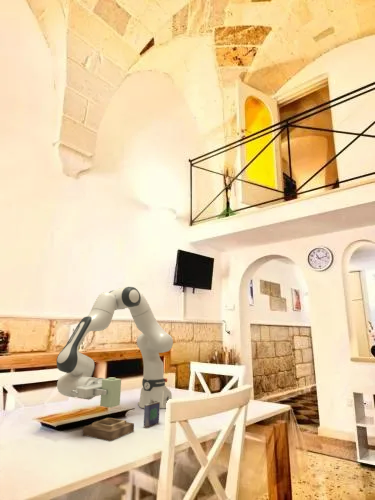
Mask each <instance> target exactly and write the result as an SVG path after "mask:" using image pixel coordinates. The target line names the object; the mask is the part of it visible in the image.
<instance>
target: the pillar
mask: <svg viewBox="0 0 375 500" xmlns="http://www.w3.org/2000/svg"><path fill="white" fill-rule="evenodd" d="M101 389H103V390H104V389H106V390H108V394H107V395H100V402H99V403H100V405H99V407H104V408H110V409H112V408H114V407H118V406H121V405H120V404H121V392H122V391H121V389H122V379H121V378H116V377H107V378H105V379H102V388H101Z"/></svg>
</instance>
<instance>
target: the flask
mask: <svg viewBox="0 0 375 500" xmlns="http://www.w3.org/2000/svg"><path fill="white" fill-rule="evenodd" d="M149 400H150V403H148V404H145V405H144V408H143V409H144V412H143V428H145V429H148V428H151V427H154V426H156V425H159V424H160V408H159V407H160V402H158V401H153V400H154V399H152V398H151V399H149Z"/></svg>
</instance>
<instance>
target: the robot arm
mask: <svg viewBox="0 0 375 500" xmlns="http://www.w3.org/2000/svg"><path fill="white" fill-rule="evenodd" d="M125 309H128V310H129V312H130V314H131V317H132V320H133V321H134V325H135V327H136V328H137V329H138V330H139V331H140V332H141V334H140V335H138V336H137V339H136V345H137V347H138V350H139V351H140V353H141V357H142V361H143V363H142V364H143V377H142V380H141V385H142V387H141V389H140V395H139V402H137V405H138V407H139V408H141V409H144V405H145V404H148V403H150V400H149V399H151V398H152V399H154V400H153V401H158V402H160V407H159V409H167V408H166V403H167V401H168V400H169V399H172V400H173V398H172V392H171V390H170V389H169V388H168V387H167V386H166V383H168V381H169V380H168V378H165V377H164V373H165V372H164V370H165V369H164V365H165V364H164V362H163V361H162V359H161V357H160V354H162V353H163V354H164V353H167V352H169V351H170V350H172V348H173V345H174V339H173V337H172V336H171V335H170V334H169V333H167V331H166V330H165V329H164V328H163V327H162V326H161V325H160V324H159V322H158V321H157V319H156V317H155V315H154V313H153V311H152V308H151V306H150V304H149V302H148V300H147V299H146V297H145V296H144V294H143V293H141V292H140V291H139V290H138V288H136V287H135V286H134V287H133V286H125V287H120V288H116V289H113V290H110V291H109V292H106V291H105V292H101V293H100V294H99V295H98V296H97V297H96V300H95V301H94V303H93V305H92V307H91V309H90V312H89V313H88V315H87V316H84V317H83V318H82V319H81V320H80V321H79V322H78V324H77V326H76V327H75V329H74V331H73V332H72V333H71V335H70V337H69V339H68V340H67V343H66V344H65V346H64V347H63V348H62V350H61V351H60V352H59V353H58V355H57V357H56V367H57V369H58V371H60V372H63V373H65V374H63V375H61V376H60V377H59V378H58V380H57V382H56V389H57V392H58V393H59V394H61V395H63V396H65V397H69V398H77V399H80V400H81V399H82V400H88V401H89V400H92V399H93V398H95V397H98V396H101V395H107V394H108V390H106V389H104V390H103V389H101V388H102V379H106V378H103V377H94V376H93V374H94V371H95V366H96V365H95V364H96V363H95V360H94V359H93V358H91V357H90V356H88V355H86V354H83V353H82V352H80V347H81V345H82V344H83V341H84V339H85V337H86V335H87V334H89V333H90V332H101V331H104V330H106V329H108V327H109V326H110V324H111V322H112V321H113V317H114V314H115V311H118V310H119V311H120V310H125ZM92 376H93V377H92Z"/></svg>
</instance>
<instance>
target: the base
mask: <svg viewBox="0 0 375 500" xmlns="http://www.w3.org/2000/svg"><path fill="white" fill-rule="evenodd" d="M82 428H83V429H82V431H83V432H82V436H84V437H91V438H93V439H94V438H95V439H99V440H103V441H107V442H112V441H115V440H117V439H119V438H121V437H124V436H126V435H129V434H131V433H134V431H135V423H134V422H130V421H127V420H126V419H125V420H124V419H119V418H113V417H106V418H103V419H100V420H96V421H94V422H92V423H91V424H88V425H85V426H83V427H82Z"/></svg>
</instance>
